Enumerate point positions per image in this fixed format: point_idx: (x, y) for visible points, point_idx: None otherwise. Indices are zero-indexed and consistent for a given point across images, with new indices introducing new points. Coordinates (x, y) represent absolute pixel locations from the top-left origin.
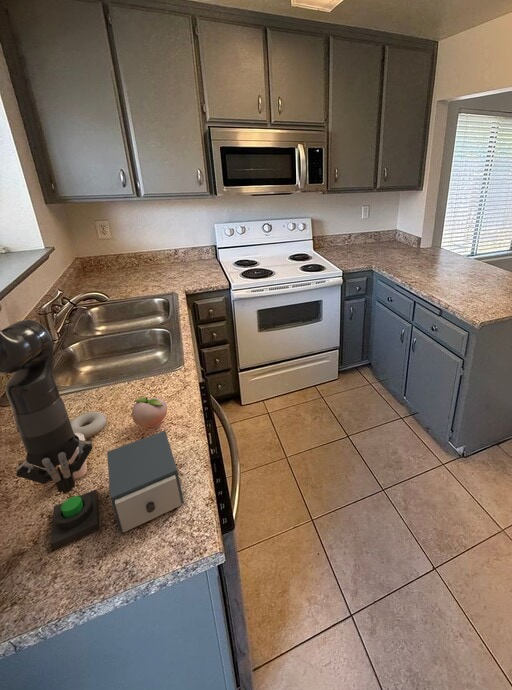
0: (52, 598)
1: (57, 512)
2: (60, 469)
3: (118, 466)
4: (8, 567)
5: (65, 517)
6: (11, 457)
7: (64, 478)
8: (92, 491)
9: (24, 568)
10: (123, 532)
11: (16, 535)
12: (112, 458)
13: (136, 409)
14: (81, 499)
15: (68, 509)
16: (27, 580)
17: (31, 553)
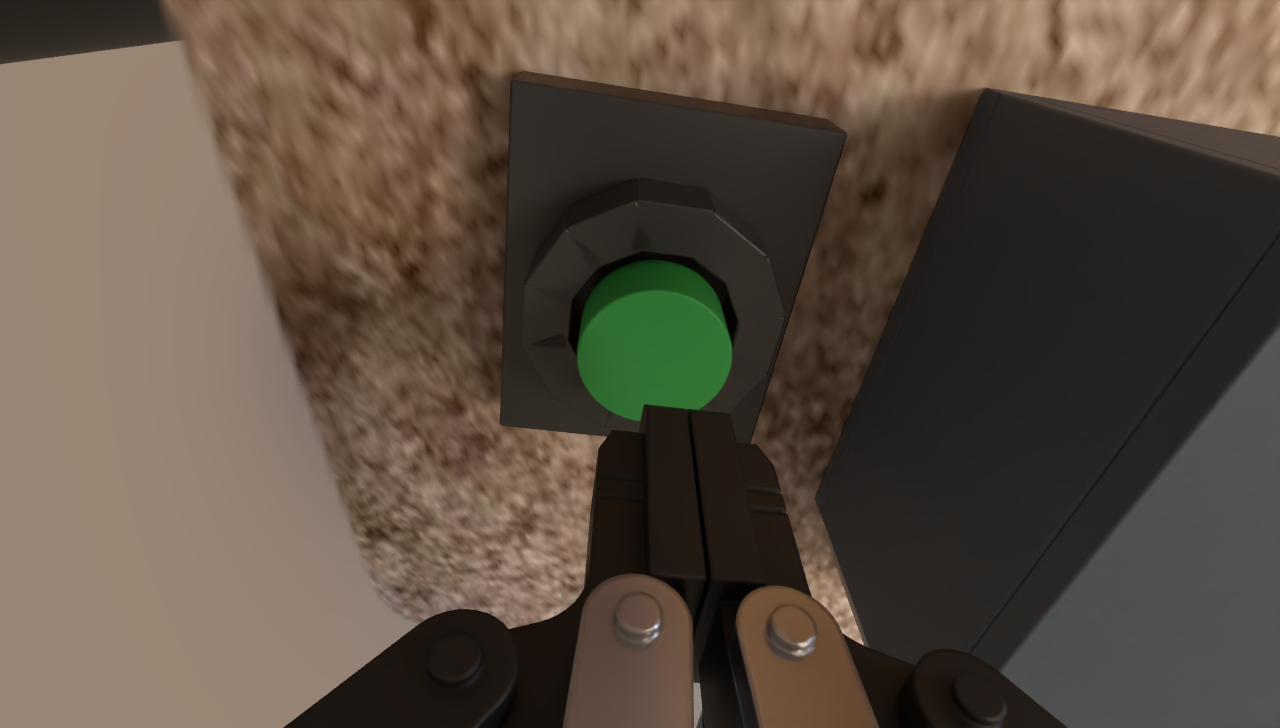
0: (517, 589)
1: (545, 294)
2: (689, 661)
3: (1188, 568)
4: (293, 349)
5: (590, 282)
6: None
7: (695, 672)
8: (814, 140)
9: (382, 406)
10: (828, 542)
11: (260, 112)
12: (1268, 414)
13: None
14: (730, 362)
15: (628, 409)
16: (410, 473)
17: (400, 338)
